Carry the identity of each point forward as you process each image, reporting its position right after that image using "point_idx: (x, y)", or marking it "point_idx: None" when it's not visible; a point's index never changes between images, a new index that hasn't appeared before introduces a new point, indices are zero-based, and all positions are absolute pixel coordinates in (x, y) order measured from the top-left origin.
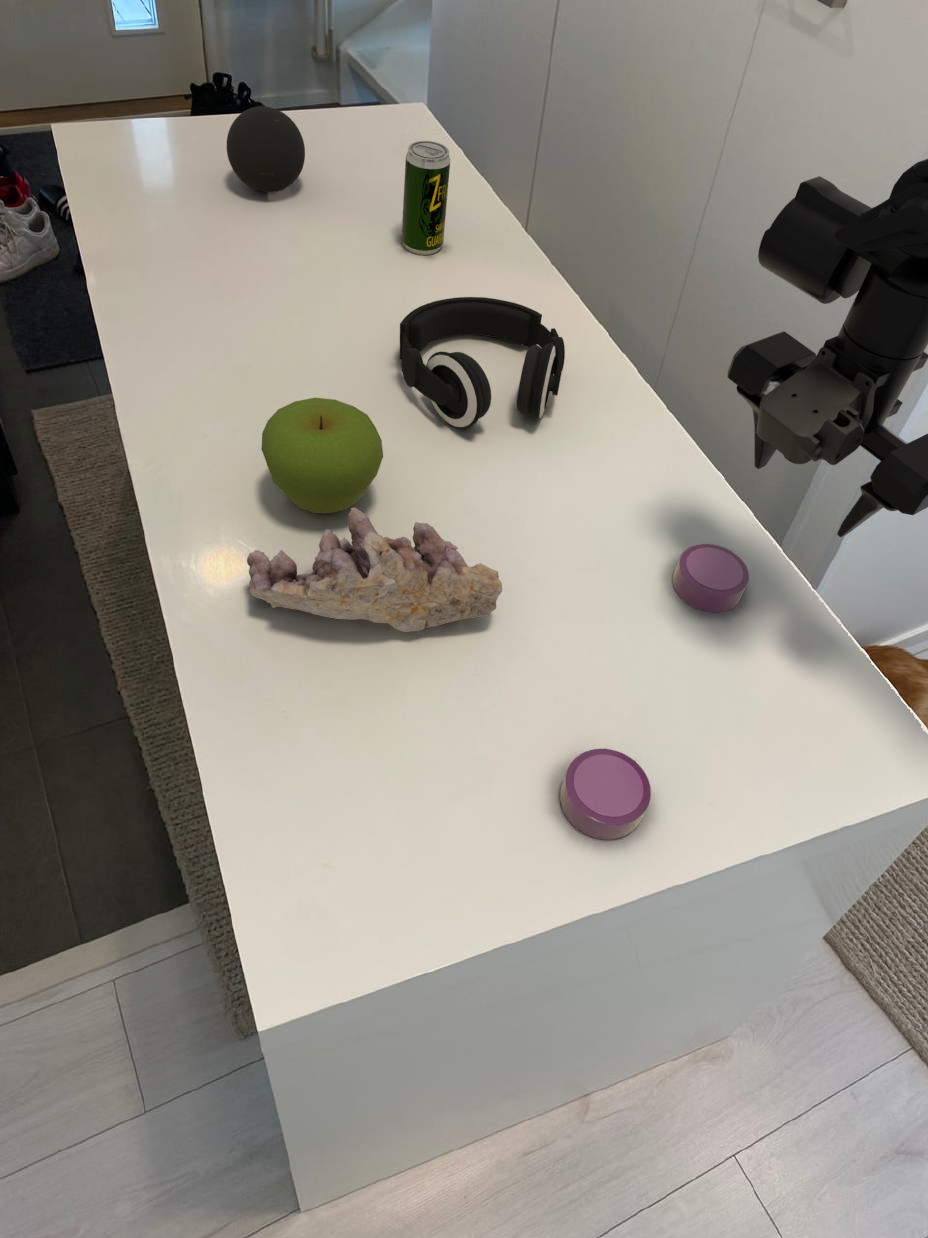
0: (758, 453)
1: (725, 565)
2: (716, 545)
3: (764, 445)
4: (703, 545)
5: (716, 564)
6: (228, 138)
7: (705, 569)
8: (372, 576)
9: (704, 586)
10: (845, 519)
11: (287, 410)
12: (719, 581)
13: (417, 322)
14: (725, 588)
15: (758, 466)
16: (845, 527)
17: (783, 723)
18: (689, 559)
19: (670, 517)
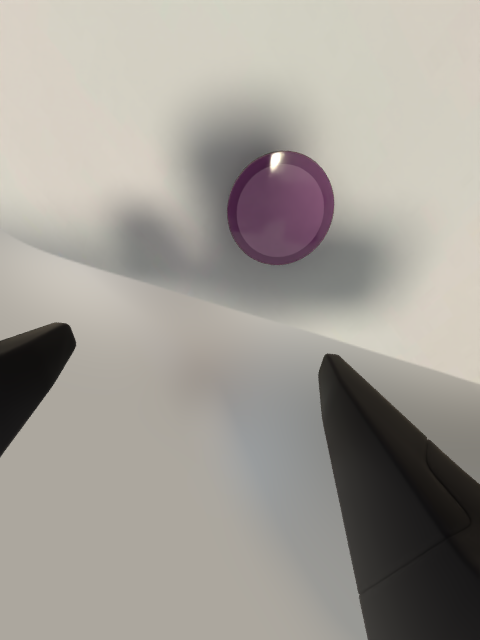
0: (353, 383)
1: (272, 234)
2: (304, 255)
3: (357, 414)
4: (318, 239)
5: (282, 223)
6: None
7: (287, 199)
8: None
9: (265, 167)
10: (4, 351)
11: None
12: (257, 198)
13: None
14: (242, 194)
15: (328, 357)
16: (20, 338)
17: (49, 93)
18: (317, 193)
19: (384, 267)
